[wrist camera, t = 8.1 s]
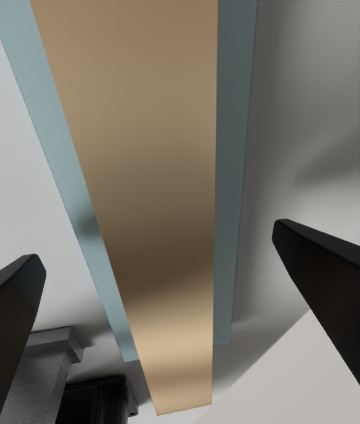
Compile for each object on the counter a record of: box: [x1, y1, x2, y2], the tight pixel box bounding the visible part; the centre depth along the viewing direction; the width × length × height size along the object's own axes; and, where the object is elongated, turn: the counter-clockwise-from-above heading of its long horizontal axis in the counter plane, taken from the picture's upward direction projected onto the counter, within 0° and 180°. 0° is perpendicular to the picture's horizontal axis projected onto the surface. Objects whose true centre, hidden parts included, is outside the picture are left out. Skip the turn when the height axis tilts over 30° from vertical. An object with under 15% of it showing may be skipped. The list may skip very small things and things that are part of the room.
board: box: [0, 0, 258, 362], centre depth 10 cm, size 20×7×1 cm, turn 4°
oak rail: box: [29, 0, 218, 416], centre depth 8 cm, size 20×3×3 cm, turn 4°
